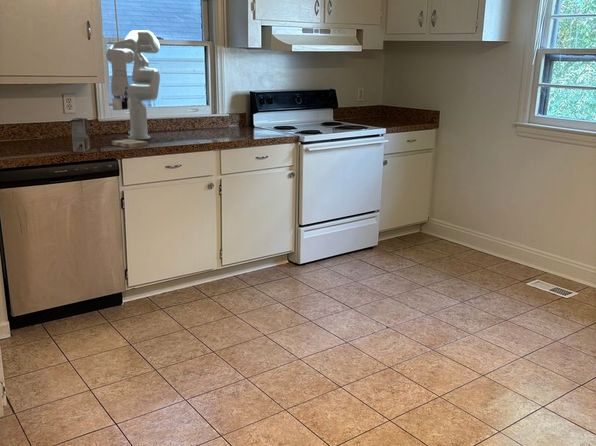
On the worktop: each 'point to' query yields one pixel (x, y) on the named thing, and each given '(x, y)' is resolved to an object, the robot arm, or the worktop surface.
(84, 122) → the coffee box
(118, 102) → the connector
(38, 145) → the worktop surface
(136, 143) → the maple board
